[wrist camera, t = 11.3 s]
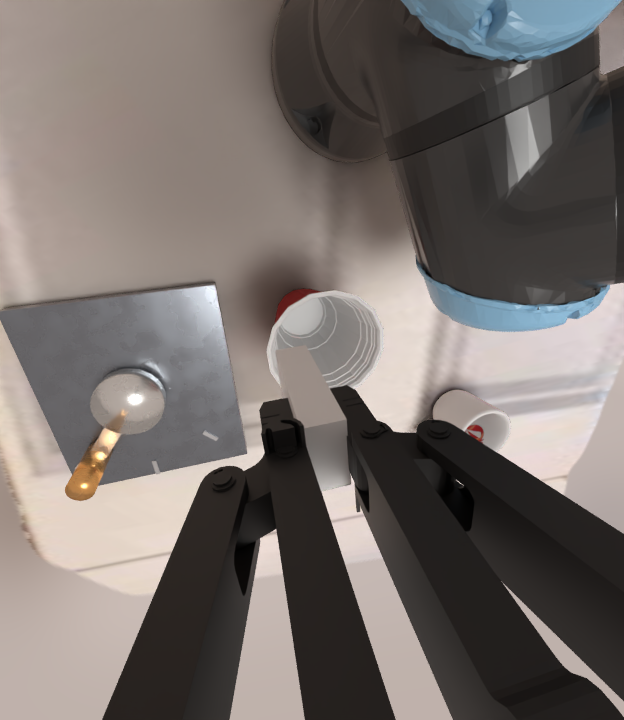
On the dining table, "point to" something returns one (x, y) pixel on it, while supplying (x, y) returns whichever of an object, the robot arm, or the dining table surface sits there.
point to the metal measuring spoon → (116, 422)
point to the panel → (139, 351)
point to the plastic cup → (329, 334)
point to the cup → (474, 417)
